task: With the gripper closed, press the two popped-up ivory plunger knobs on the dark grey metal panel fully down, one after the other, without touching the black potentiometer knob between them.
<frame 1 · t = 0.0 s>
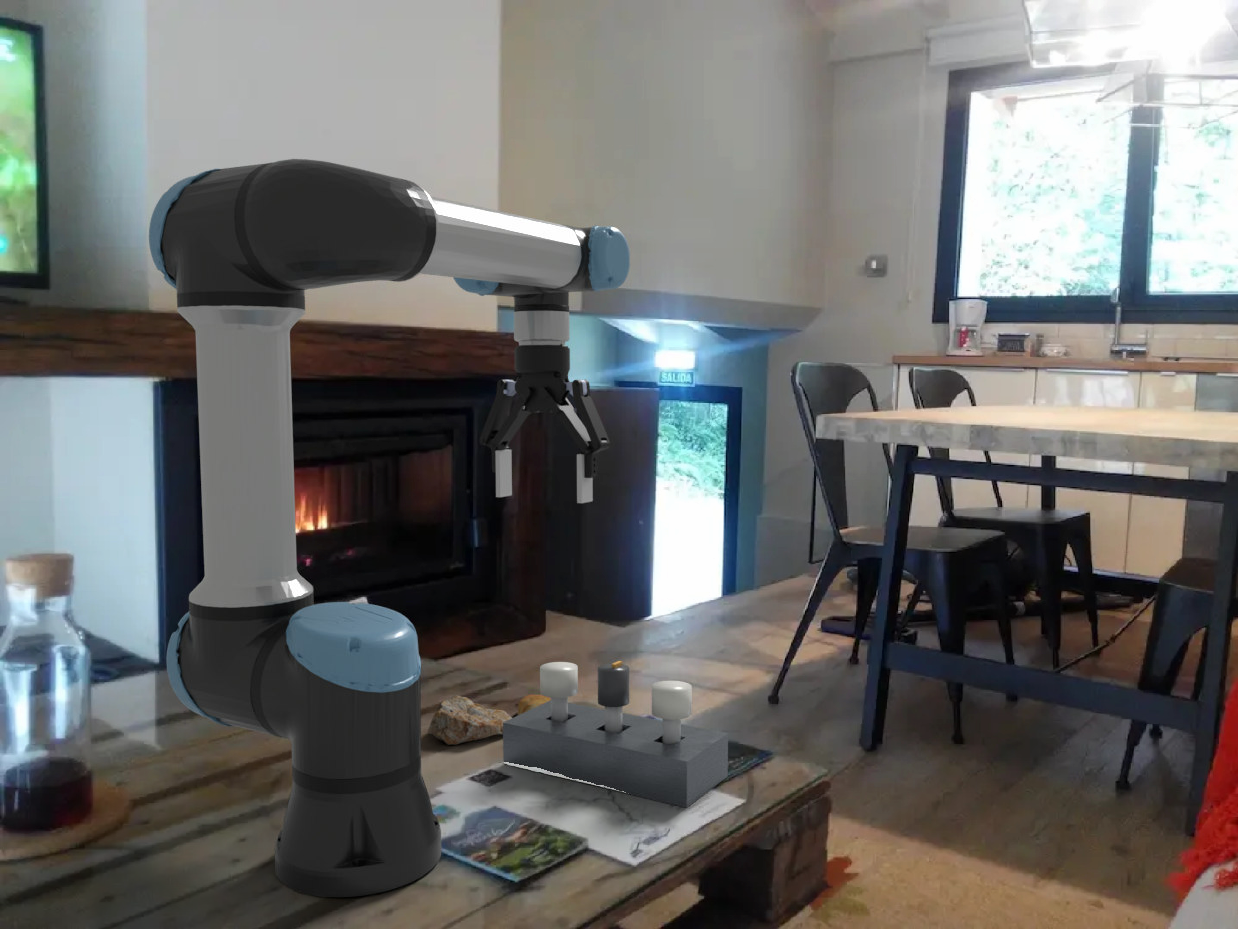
hand: (543, 499, 145), 28 cm above the table, fingers open, 13 cm apart
pastry: (542, 724, 138), on the table
panel: (613, 770, 121), on the table
rock: (469, 737, 133), on the table
plunger far: (559, 698, 124), point 7 cm above the table, slide at 3.0 cm
pot knob: (613, 702, 120), point 8 cm above the table, slide at 3.0 cm
plunger near: (671, 719, 116), point 7 cm above the table, slide at 3.0 cm
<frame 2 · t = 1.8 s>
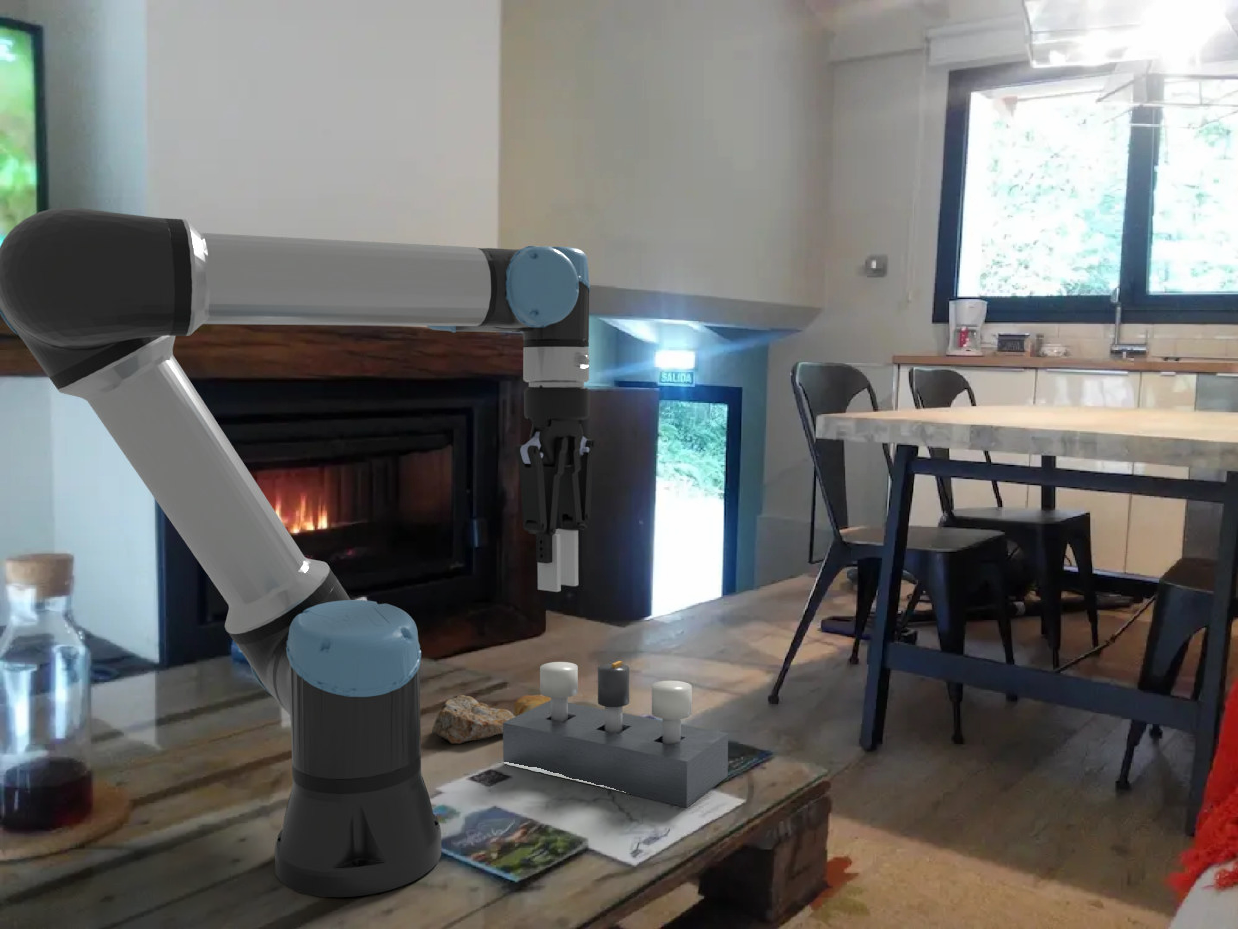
hand: (558, 586, 123), 21 cm above the table, fingers open, 3 cm apart
nothing on the table moved.
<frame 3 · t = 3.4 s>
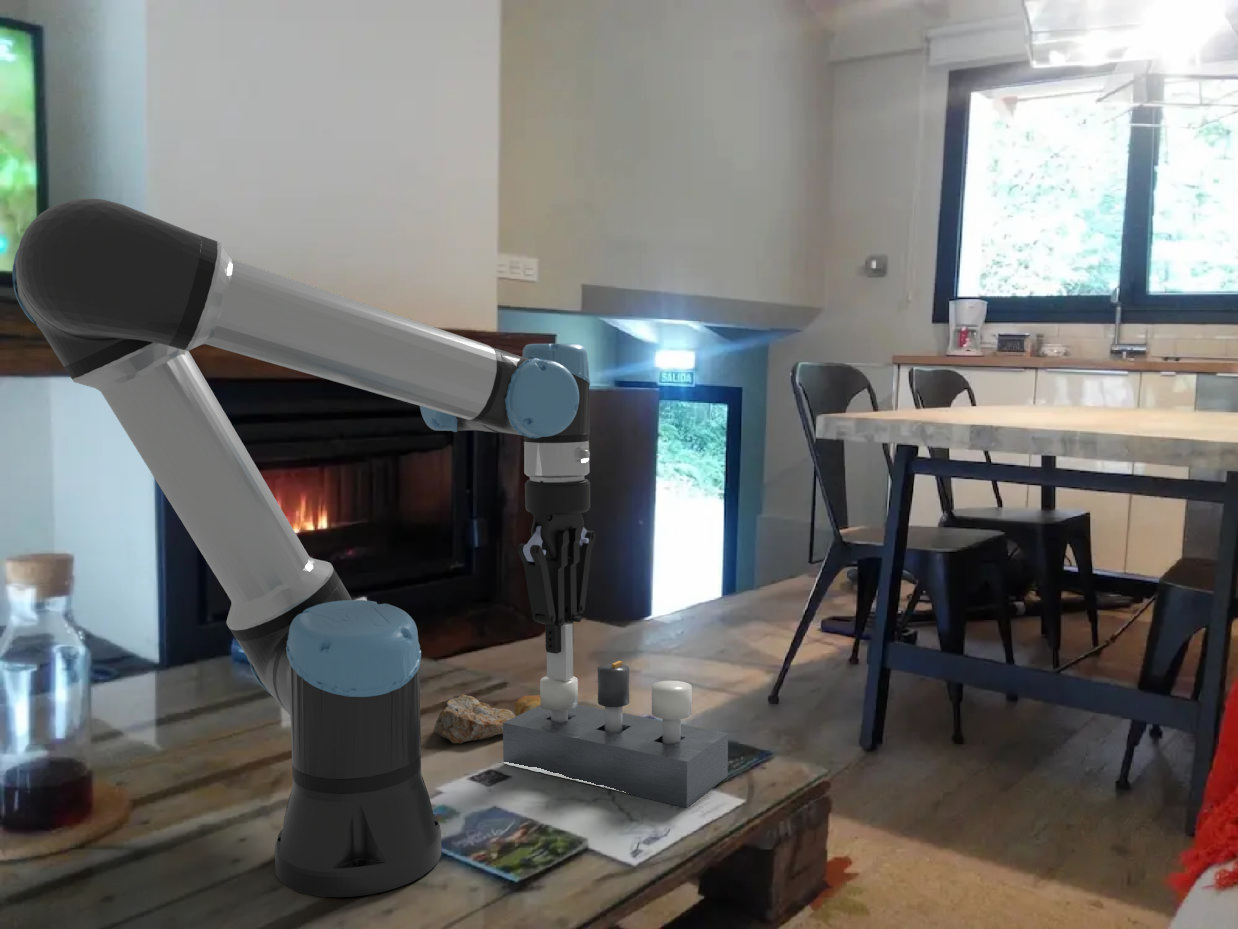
hand: (560, 677, 124), 10 cm above the table, fingers closed
pastry: (539, 725, 137), on the table, touching rock
rock: (475, 736, 133), on the table, touching pastry
plunger far: (559, 711, 124), point 6 cm above the table, slide at 1.5 cm, touching gripper
everything else where it was.
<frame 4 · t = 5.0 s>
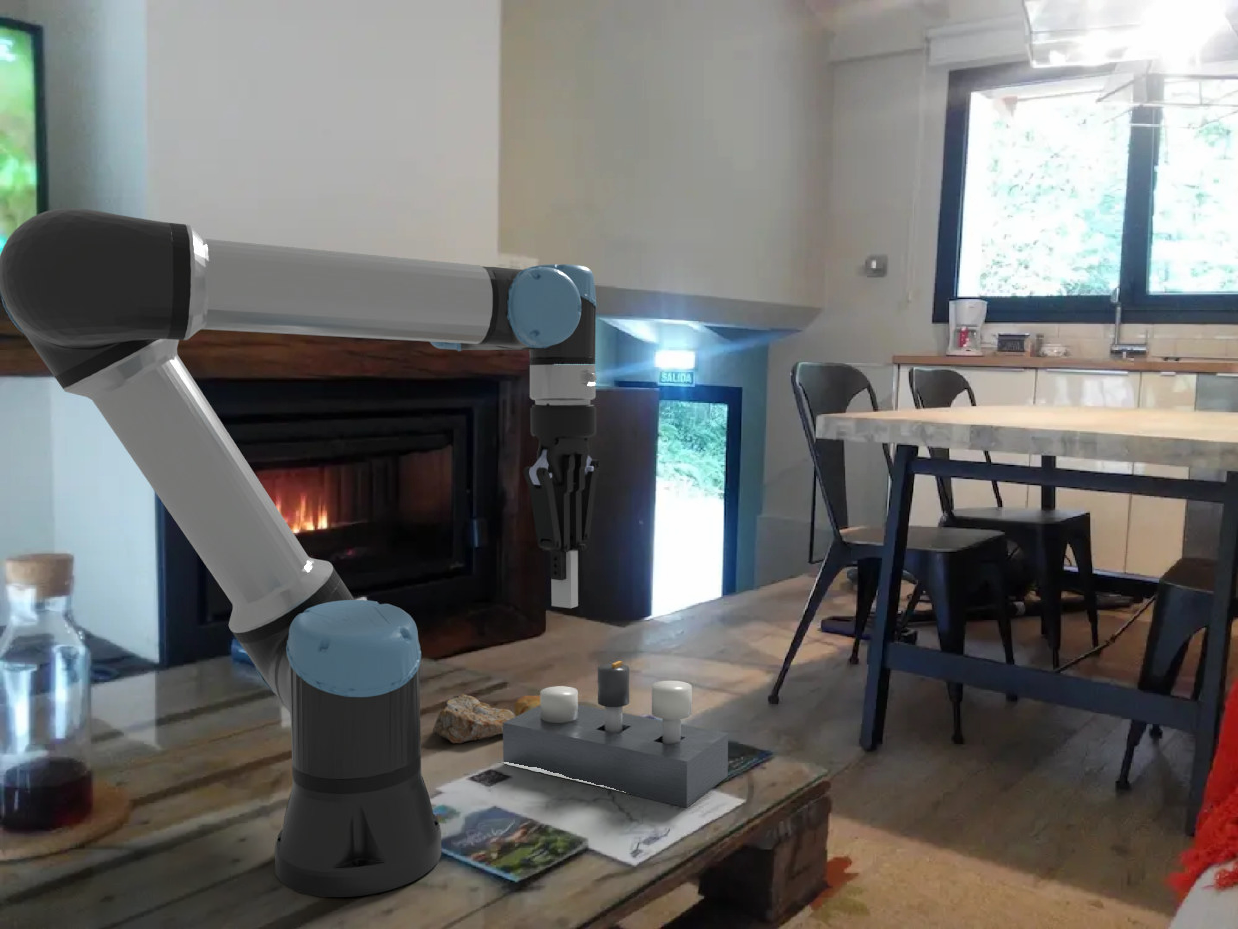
hand: (564, 605, 122), 18 cm above the table, fingers closed
pastry: (539, 725, 137), on the table
rock: (475, 736, 133), on the table
plunger far: (559, 723, 124), point 4 cm above the table, slide at 0.0 cm
everything else where it was.
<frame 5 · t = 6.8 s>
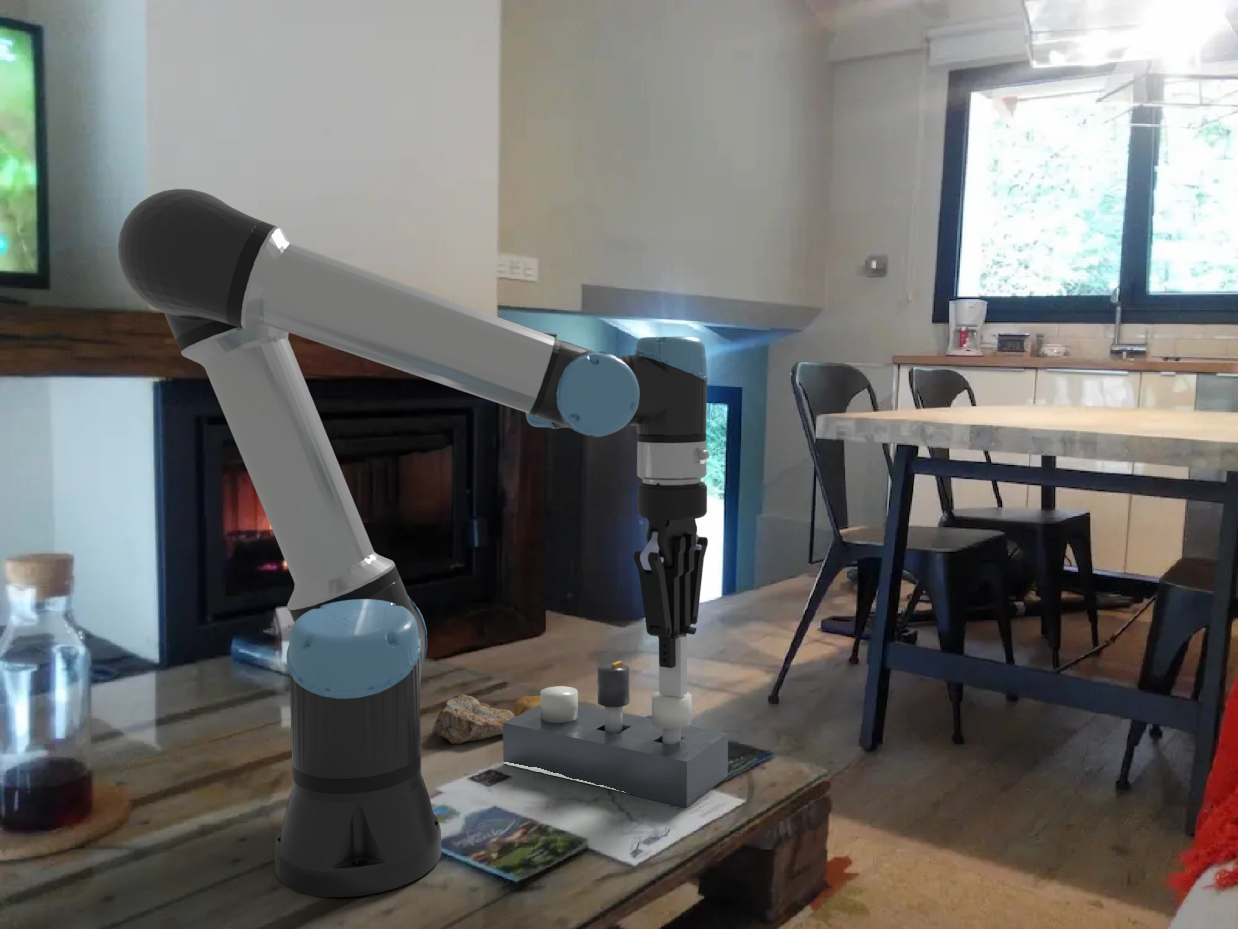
hand: (673, 693, 116), 10 cm above the table, fingers closed
plunger near: (671, 729, 116), point 6 cm above the table, slide at 1.9 cm, touching gripper
everything else where it was.
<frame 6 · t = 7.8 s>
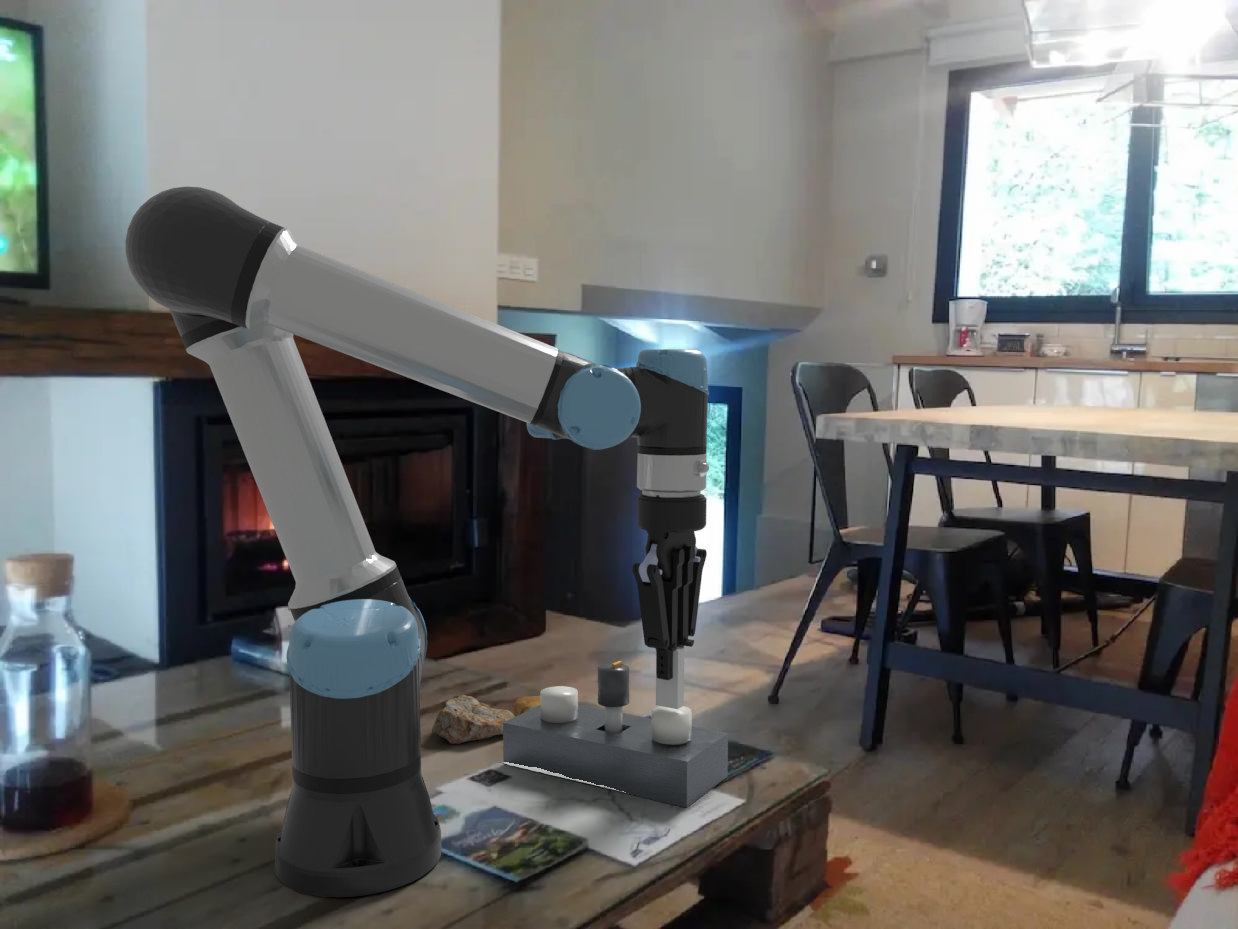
hand: (669, 705, 116), 9 cm above the table, fingers closed
plunger near: (671, 744, 116), point 4 cm above the table, slide at 0.2 cm, touching panel
everything else where it was.
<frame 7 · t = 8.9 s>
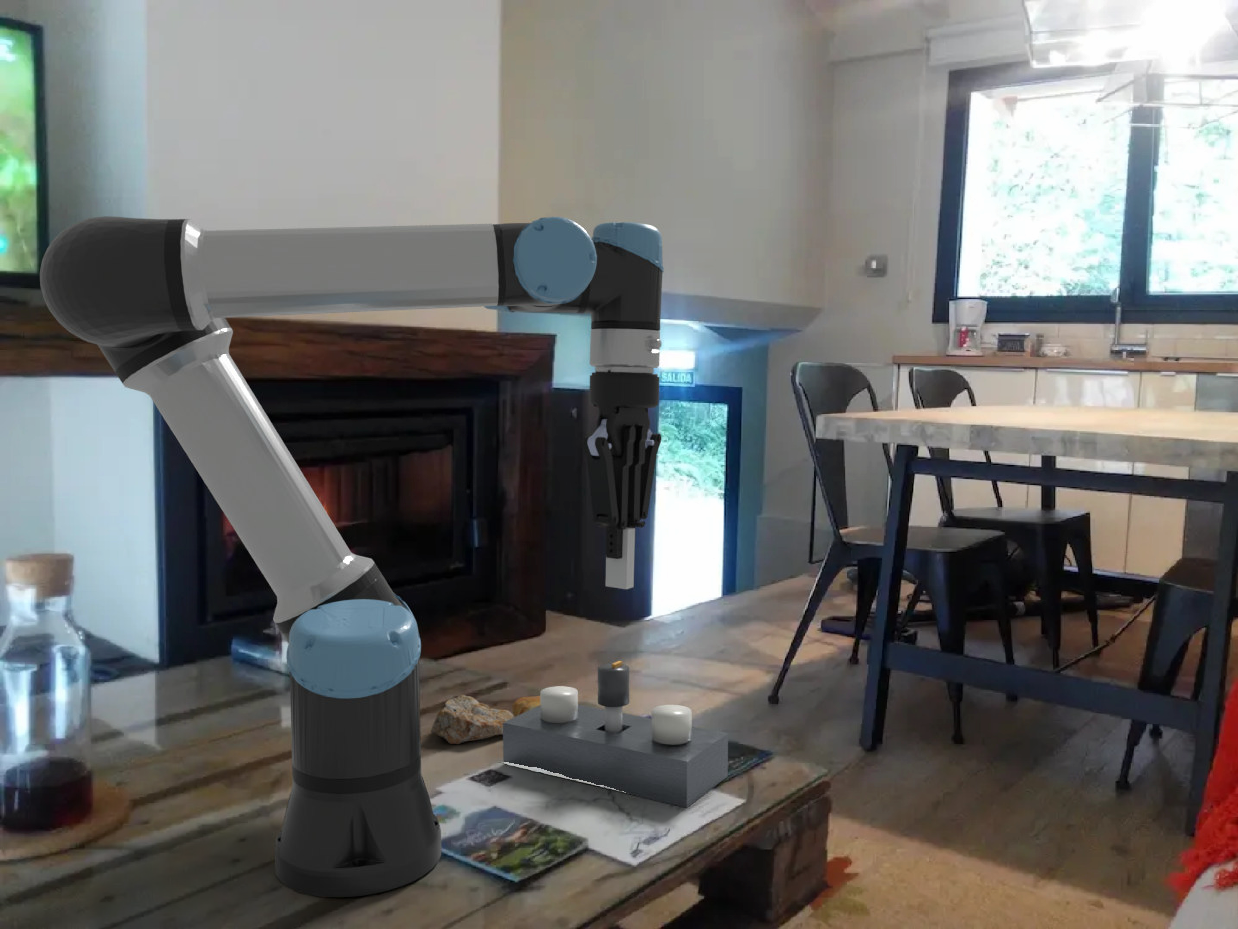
hand: (619, 586, 115), 22 cm above the table, fingers closed
pastry: (538, 726, 137), on the table, touching rock
rock: (473, 737, 133), on the table, touching pastry
everything else where it was.
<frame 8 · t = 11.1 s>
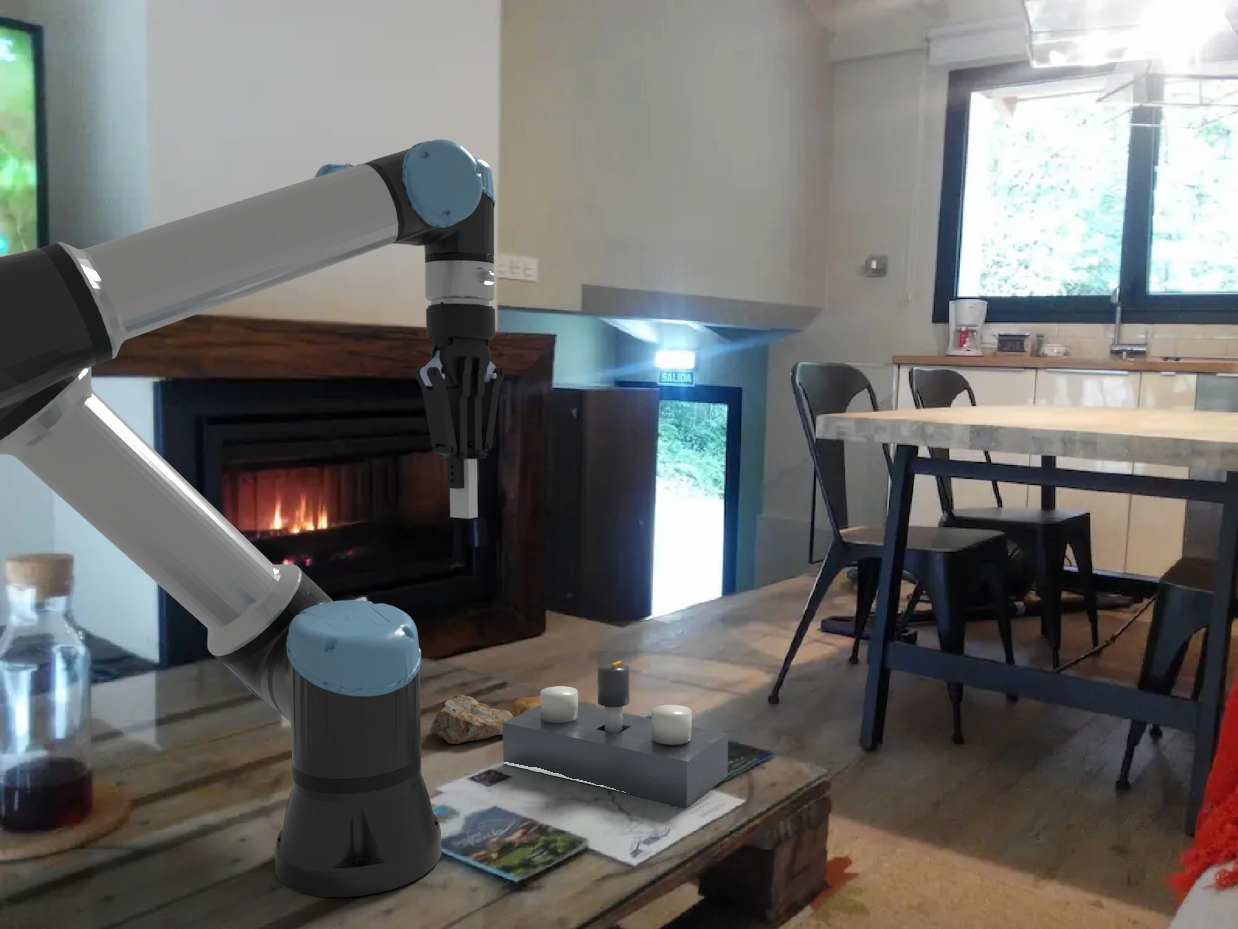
hand: (463, 516, 117), 29 cm above the table, fingers closed
nothing on the table moved.
at the end: plunger far slide at 0.0 cm; plunger near slide at 0.2 cm; pot knob slide at 3.0 cm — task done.
